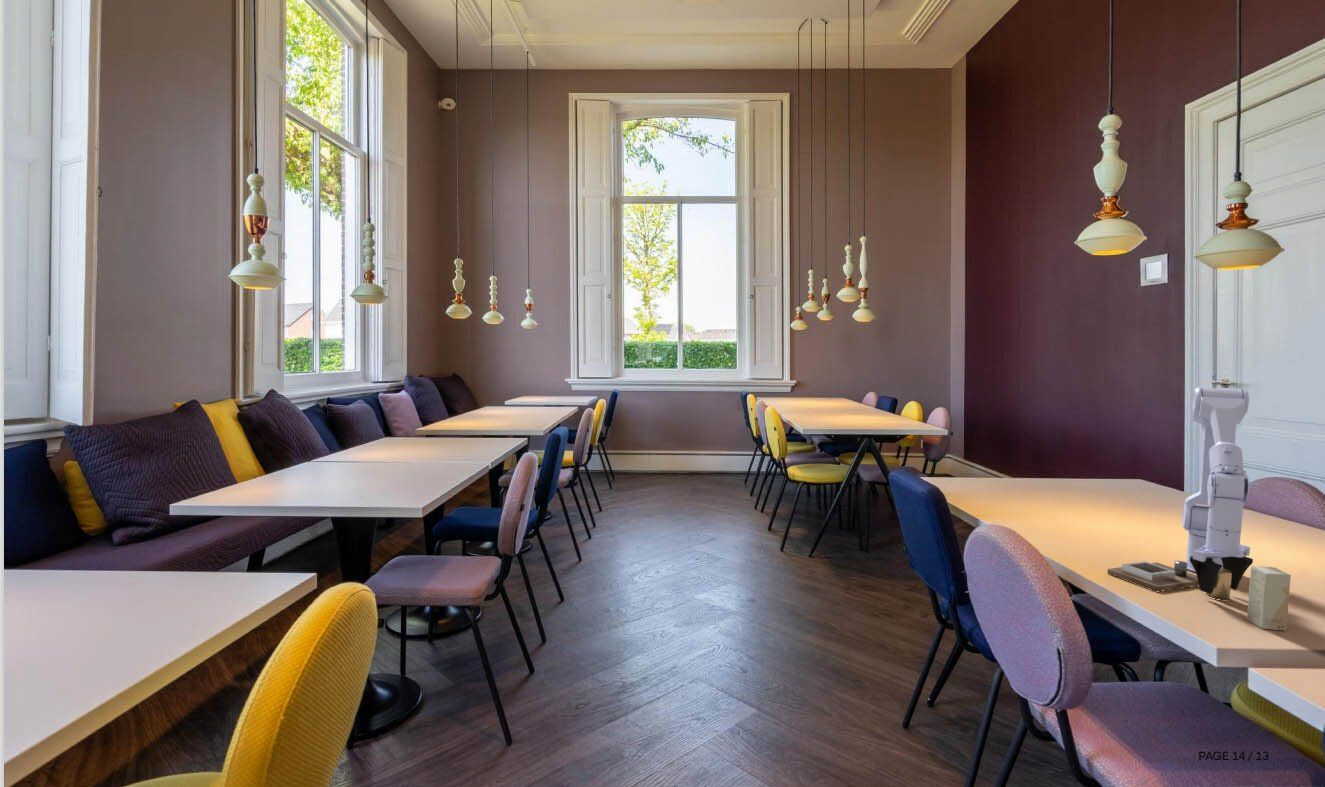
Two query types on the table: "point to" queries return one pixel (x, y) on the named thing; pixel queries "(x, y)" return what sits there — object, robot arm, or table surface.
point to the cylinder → (1222, 585)
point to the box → (1268, 597)
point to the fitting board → (1156, 575)
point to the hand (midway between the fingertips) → (1218, 590)
